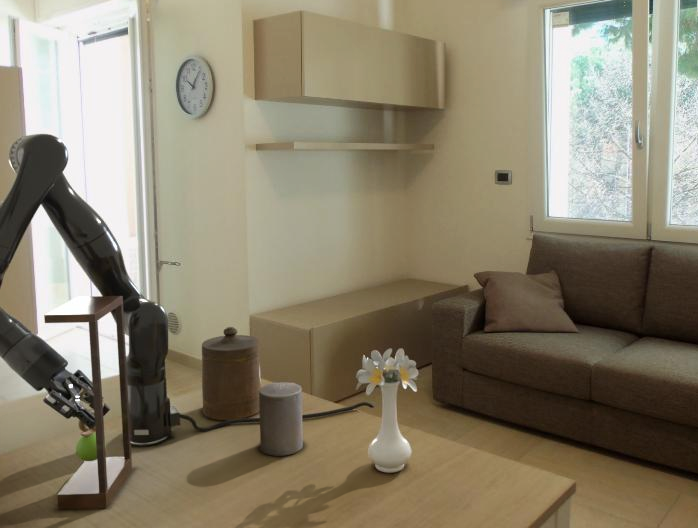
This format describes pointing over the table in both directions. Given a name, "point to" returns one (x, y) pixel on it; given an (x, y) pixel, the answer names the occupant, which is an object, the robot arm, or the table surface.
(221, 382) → the wooden container
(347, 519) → the table surface
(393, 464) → the flower vase
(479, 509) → the table surface
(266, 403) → the pillar candle
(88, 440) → the snail figurine
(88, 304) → the shelf unit
